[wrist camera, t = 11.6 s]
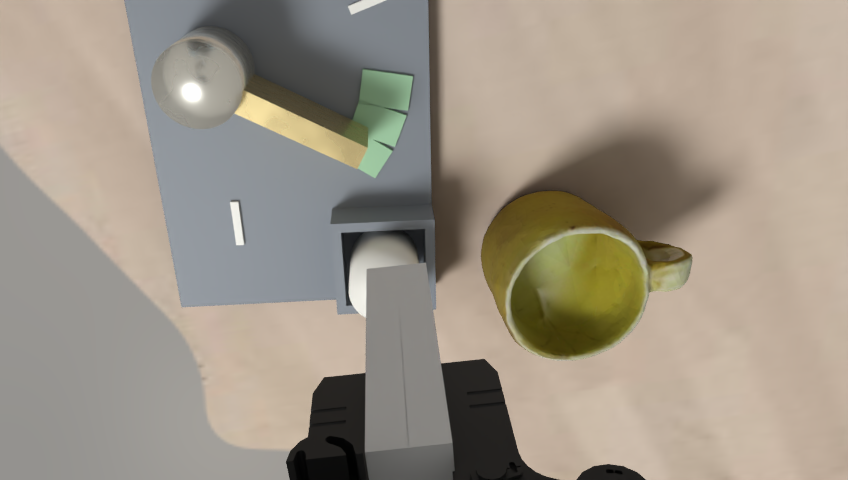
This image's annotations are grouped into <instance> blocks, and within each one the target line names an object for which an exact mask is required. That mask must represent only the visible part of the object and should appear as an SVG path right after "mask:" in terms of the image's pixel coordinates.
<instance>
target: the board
mask: <svg viewBox="0 0 848 480" xmlns="http://www.w3.org/2000/svg"><path fill="white" fill-rule="evenodd" d="M124 1H125V6H126V12H127V17H128V22H129V28H130V33H131V39H132V44H133V49H134V55H135V60H136V65H137V71H138V76H139V81H140V87H141V92H142V97H143V103H144V108H145V113H146V119H147V124H148V130H149V135H150V140H151V146H152V151H153V156H154V162H155V167H156V172H157V178H158V183H159V188H160V194H161V199H162V204H163V210H164V215H165V221H166V226H167V231H168V237H169V242H170V247H171V253H172V258H173V263H174V269H175V274H176V279H177V285H178V290H179V295H180V301H181V306H182V307H195V306H215V305H235V304H255V303H275V302H295V301H315V300H335V299H336V300H337V312H338V314H356V313H358V312H357V310H356V309H355V308H354V307H353V305H352V303H351V301H350V298H349V275H350V258H351V250H352V247H353V245H354V243H355V241H356V240H357V239H358V238H359V236H361V235H362V234H363V233H365V232H367V231H389V230H401V231H403V232H405V233H406V234H408V235H409V236H410V237H411V238H412V240H413V241H414V243H415V245H416V247H417V251H418V257H419V263H426V266H427V273H428V280H429V286H430V293H431V300H432V307H433V310H434V309H436V274H435V219H434V214H433V209H432V197H431V138H430V79H429V20H428V0H124ZM206 26H214V27H220V28H224V29H226V30H229V31H231V32H232V33H234V34H235V35H237V36H238V37H239V38H240V39H241V40H242V41H243V42H244V43H245V44H246V45H247V47H248V48H249V50H250V52H251V54H252V57H253V60H254V65H255V74H256V75H258V76H260V77H262V78H264V79H266V80H269V81H271V82H273V83H275V84H277V85H279V86H281V87H283V88H285V89H288V90H290V91H292V92H294V93H296V94H298V95H300V96H302V97H305V98H307V99H309V100H311V101H313V102H315V103H317V104H319V105H322V106H324V107H326V108H328V109H330V110H332V111H334V112H336V113H339V114H341V115H343V116H345V117H347V118H349V119H351V120H353V121H356V122H358V123H360V124H362V125H364V126H366V127H368V149H367V151H366V153H365V155H364V157H363V159H362V161H361V163H360V165H359V167H358V169H355V168H353V167H351V166H349V165H347V164H344V163H342V162H340V161H338V160H336V159H333V158H331V157H329V156H327V155H325V154H322V153H320V152H318V151H316V150H314V149H311V148H309V147H307V146H305V145H303V144H300V143H298V142H296V141H294V140H292V139H289V138H287V137H285V136H283V135H281V134H278V133H276V132H274V131H272V130H270V129H267V128H265V127H263V126H261V125H259V124H256V123H254V122H252V121H250V120H248V119H245V118H243V117H241V116H239V115H236V114H233V115H232V117H231V118H230V119H228V120H227V121H226V122H225V123H223V124H221V125H219V126H217V127H213V128H209V129H194V128H189V127H186V126H183V125H181V124H179V123H177V122H175V121H174V120H172V119H171V118H170V117H168V116H167V115H166V114H165V113H164V112H163V111H162V109H161V108H160V106H159V105H158V103H157V102H156V100H155V97H154V95H153V91H152V86H151V75H152V70H153V66H154V64H155V62H156V60H157V59H158V57H159V56H160V55H161V53H162V52H164V51H165V50H166V49H167V48H169V47H170V46H171V45H173V44H174V43H175V42H177V41H178V40H179V39H181V38H182V37H184V36H185V35H186V34H188V33H189V32H191V31H192V30H195V29H197V28H200V27H206Z"/></svg>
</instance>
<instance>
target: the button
mask: <svg viewBox="0 0 848 480" xmlns="http://www.w3.org/2000/svg"><path fill="white" fill-rule="evenodd" d="M418 263H419V257H418V251H417V247H416V245H415V243H414V241H413V240H412V238H411V237H410V236H409V235H408V234H406V233H405V232H403V231H401V230H389V231H367V232H365V233H363V234H362V235H361V236H359V238H358V239H357V240H356V241H355V243H354V245H353V247H352V250H351V258H350V275H349V298H350V301H351V303H352V305H353V307H354V308H355V309H356V310H357V312H358V313H360V314H361V315H362V316H364V317H365V318H366V273H367V269H369V268H379V267H389V266H399V265H409V264H418Z"/></svg>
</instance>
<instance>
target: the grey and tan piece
mask: <svg viewBox="0 0 848 480" xmlns="http://www.w3.org/2000/svg"><path fill="white" fill-rule="evenodd" d="M151 86H152V91H153V95H154V97H155V100H156V102H157V103H158V105H159V106H160V108H161V109H162V111H163V112H164V113H165V114H166V115H167V116H168V117H170V118H171V119H172V120H174V121H175V122H177V123H179V124H181V125H183V126H186V127H189V128H194V129H209V128H213V127H217V126H219V125H221V124H223V123H225V122H226V121H227V120H228V119H230V118H231V117H232V115H233V114H236V115H239V116H241V117H243V118H245V119H248V120H250V121H252V122H254V123H256V124H259V125H261V126H263V127H265V128H267V129H270V130H272V131H274V132H276V133H278V134H281V135H283V136H285V137H287V138H289V139H292V140H294V141H296V142H298V143H300V144H303V145H305V146H307V147H309V148H311V149H314V150H316V151H318V152H320V153H322V154H325V155H327V156H329V157H331V158H333V159H336V160H338V161H340V162H342V163H344V164H347V165H349V166H351V167H353V168H355V169H358V167H359V165H360V163H361V161H362V159H363V157H364V155H365V153H366V151H367V149H368V127H366V126H364V125H362V124H360V123H358V122H356V121H353V120H351V119H349V118H347V117H345V116H343V115H341V114H339V113H336V112H334V111H332V110H330V109H328V108H326V107H324V106H322V105H319V104H317V103H315V102H313V101H311V100H309V99H307V98H305V97H302V96H300V95H298V94H296V93H294V92H292V91H290V90H288V89H285V88H283V87H281V86H279V85H277V84H275V83H273V82H271V81H269V80H266V79H264V78H262V77H260V76H258V75H256V74H255V65H254V60H253V57H252V54H251V52H250V50H249V48H248V47H247V45H246V44H245V43H244V42H243V41H242V40H241V39H240V38H239V37H238V36H237V35H235V34H234V33H232V32H231V31H229V30H226V29H224V28H220V27H214V26H206V27H200V28H197V29H195V30H192V31H191V32H189V33H188V34H186V35H185V36H184V37H182V38H181V39H179V40H178V41H177V42H175V43H174V44H173V45H171V46H170V47H169V48H167V49H166V50H165V51H164V52H162V53H161V55H160V56H159V57H158V59H157V60H156V62H155V64H154V66H153V70H152V75H151Z"/></svg>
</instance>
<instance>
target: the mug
mask: <svg viewBox="0 0 848 480" xmlns="http://www.w3.org/2000/svg"><path fill="white" fill-rule="evenodd" d="M481 261H482V268H483V272H484V276H485V279H486V281H487V284H488V286H489V288H490V290H491V292H492V294H493V296H494V299H495V302H496V305H497V308H498V310H499V312H500V314H501V316H502V318H503V321H504V323H505V325H506V327H507V329H508V331H509V333H510V334H511V336H512V338H513V339H514V340H515V342H516V343H518V344H519V345H520V346H521V347H523V348H524V349H525V350H527V351H528V352H530V353H532V354H534V355H537V356H540V357H542V358H547V359H551V360H557V361H573V360H579V359H585V358H588V357H592V356H595V355H597V354H600V353H602V352H604V351H607V350H609V349H611V348H613V347H614V346H616V345H617V344H619V343H620V342H621V341H622V340H623V339H624V338H625V337H626V336H628V335H629V334H630V333H631V332H632V331H633V329H634V328H635V327H636V325H637V324H638V322H639V321H640V319H641V317H642V315H643V312H644V310H645V306H646V302H647V300H648V297H649V293H650V292H652V291H664V292H667V291H672V290H676V289H680V288H681V287H682V286H683V285H684V284H685V283H686V282H687V280H688V277H689V274H690V270H691V265H692V255H691V254H690V253H688V252H687V251H685V250H683V249H681V248H678V247H674V246H671V245H669V244H663V243H658V242H654V241H639V240H636V239H635V238H634V237H633V236H632V234H631V233H630V232H629V231H628V230H627V229H626V228H625V227H623V226H622V225H621V224H619V223H618V222H617V221H616V220H614V219H613V218H612V217H610V216H608V215H607V214H605V213H603V212H602V211H600V210H598V209H597V208H595V207H594V206H592V205H591V204H589V203H587V202H585V201H584V200H582V199H581V198H579V197H577V196H575V195H573V194H570V193H567V192H562V191H540V192H535V193H532V194H528V195H525V196H522V197H520V198H518V199H516V200H515V201H513V202H511V203H510V204H508V205H507V206H505V207H504V208H503V209H502V210H501V211H500V212H499V214H498V215H497V216H496V217H495V218H494V220H493V221H492V223H491V224H490V226H489V227H488V229H487V232H486V234H485V236H484V239H483V244H482V250H481Z"/></svg>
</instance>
